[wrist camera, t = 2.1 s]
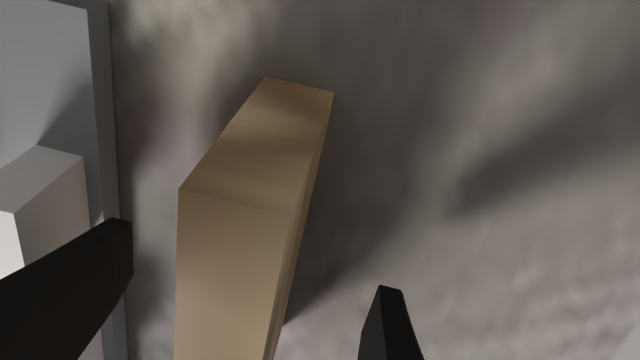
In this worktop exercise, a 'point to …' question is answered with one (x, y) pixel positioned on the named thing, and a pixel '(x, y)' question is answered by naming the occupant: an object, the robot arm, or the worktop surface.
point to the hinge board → (57, 138)
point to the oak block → (247, 224)
